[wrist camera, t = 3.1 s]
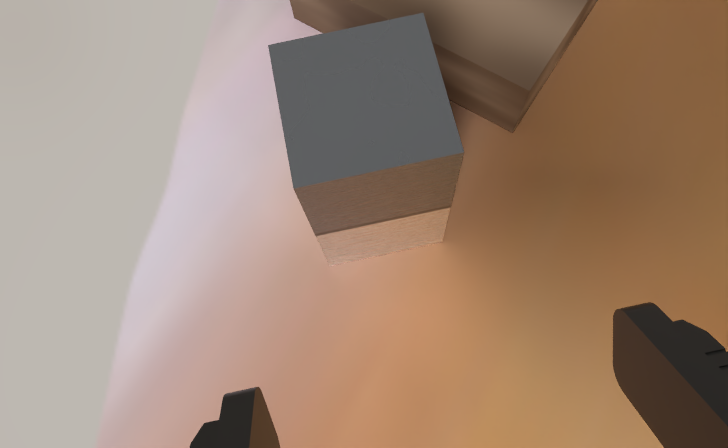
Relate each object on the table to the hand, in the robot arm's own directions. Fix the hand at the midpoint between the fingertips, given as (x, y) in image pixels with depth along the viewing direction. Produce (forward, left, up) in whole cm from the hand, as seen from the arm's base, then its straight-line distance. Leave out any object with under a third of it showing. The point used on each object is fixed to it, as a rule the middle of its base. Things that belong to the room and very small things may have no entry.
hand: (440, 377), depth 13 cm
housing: (-7, -7, -14) cm, 17 cm away
